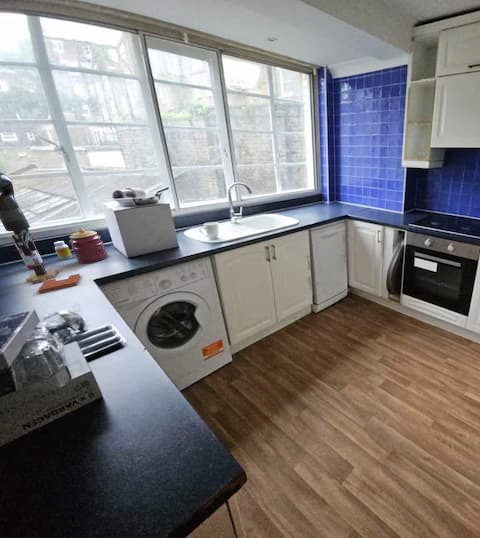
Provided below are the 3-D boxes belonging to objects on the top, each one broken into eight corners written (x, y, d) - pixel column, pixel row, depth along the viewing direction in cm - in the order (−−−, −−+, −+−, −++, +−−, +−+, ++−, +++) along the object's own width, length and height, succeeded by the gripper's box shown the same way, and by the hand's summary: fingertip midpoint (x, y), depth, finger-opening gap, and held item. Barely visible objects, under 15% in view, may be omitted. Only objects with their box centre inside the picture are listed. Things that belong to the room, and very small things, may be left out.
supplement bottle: (74, 257, 167) (67, 241, 163) (62, 260, 163) (54, 244, 159) (70, 256, 169) (63, 240, 165) (58, 259, 165) (50, 242, 161)
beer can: (32, 269, 151) (16, 240, 145) (25, 268, 153) (9, 239, 147) (47, 265, 157) (33, 236, 150) (40, 264, 159) (25, 235, 152)
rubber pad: (40, 293, 126) (38, 290, 125) (46, 283, 135) (44, 280, 134) (76, 285, 132) (75, 282, 132) (80, 276, 141) (79, 273, 141)
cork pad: (25, 285, 134) (18, 272, 131) (32, 276, 143) (26, 264, 141) (52, 279, 139) (46, 267, 136) (57, 271, 148) (51, 259, 145)
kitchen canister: (92, 264, 156) (78, 232, 149) (71, 263, 158) (57, 231, 151) (114, 255, 168) (102, 225, 161) (95, 254, 170) (82, 225, 163)
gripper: (6, 217, 134) (24, 251, 141) (-5, 223, 123) (15, 259, 130) (29, 215, 138) (45, 247, 145) (20, 220, 127) (38, 255, 134)
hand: (31, 253), depth 137 cm, fingers open, 8 cm apart
